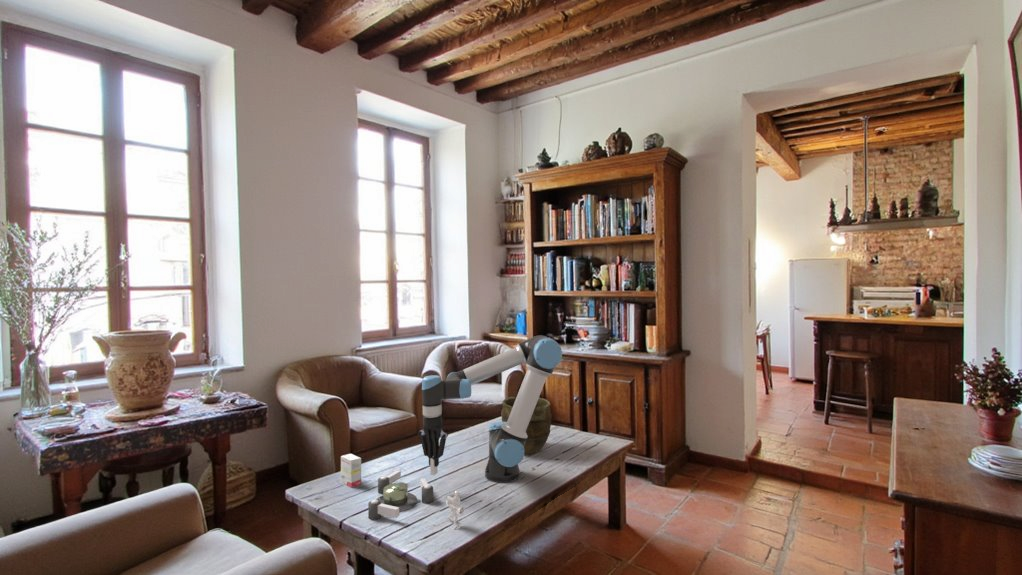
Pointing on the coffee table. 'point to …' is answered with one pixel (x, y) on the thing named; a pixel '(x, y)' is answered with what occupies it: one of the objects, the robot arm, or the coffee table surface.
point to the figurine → (454, 508)
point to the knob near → (426, 491)
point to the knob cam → (381, 510)
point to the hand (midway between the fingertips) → (434, 473)
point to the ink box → (350, 470)
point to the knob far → (388, 480)
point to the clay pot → (532, 424)
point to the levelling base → (398, 496)
